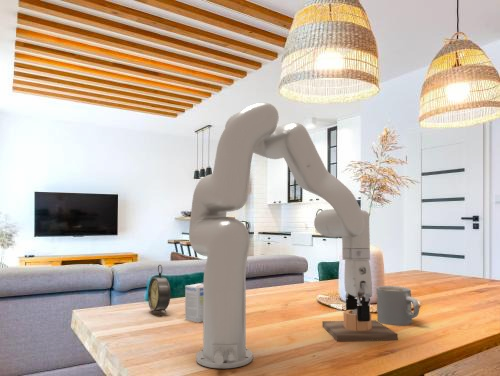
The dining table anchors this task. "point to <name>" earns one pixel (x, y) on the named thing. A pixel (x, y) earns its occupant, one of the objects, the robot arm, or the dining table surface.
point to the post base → (343, 334)
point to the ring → (355, 322)
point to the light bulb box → (194, 302)
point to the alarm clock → (159, 293)
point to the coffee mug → (395, 305)
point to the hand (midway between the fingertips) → (357, 316)
